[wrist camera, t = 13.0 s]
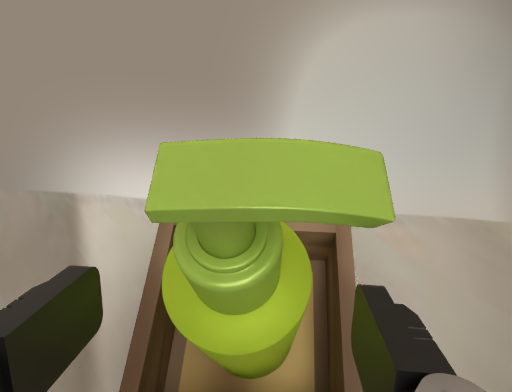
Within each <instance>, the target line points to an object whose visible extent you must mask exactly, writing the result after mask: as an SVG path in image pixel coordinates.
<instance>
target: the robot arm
mask: <svg viewBox="0 0 512 392" xmlns="http://www.w3.org/2000/svg"><path fill="white" fill-rule="evenodd" d="M102 317H103V307H102V296H101V285H100V274H99V271H98V269H97V268H96V267H88V266H69V267H67V268H66V269H64V270H63V271H61V272H60V273H59V274H57V275H56V276H55V277H53V278H52V279H50V280H49V281H47V282H45V283H43V284H40V285H38V286H36V287H33V288H32V289H30V290H29V291H27V292H26V293H24V294H23V295H22V296H20V297H19V298H18V300H14V301H13V302H12V303H10V304H9V305H7V307H6V308H3V309H2V310H0V392H47V391H48V389H49V388H50V387H51V386H52V385H53V384H54V382H55V381H56V380H57V379H58V378H59V377H60V375H61V374H62V373H63V372H64V371H65V369H66V368H67V367H68V366H69V365H70V364H71V362H72V361H73V360H74V359H75V358H76V356H77V355H78V354H79V353H80V352H81V351H82V349H83V348H84V347H85V346H86V345H87V343H88V342H89V341H90V340H91V339H92V338H93V336H94V335H95V334H96V333H97V331H98V330H99V328H100V325H101V322H102ZM351 347H352V353H353V357H354V360H355V364H356V367H357V371H358V375H359V378H360V382H361V385H362V389H363V392H486V391H484V390H483V389H482V388H480V387H479V386H477V385H476V384H474V383H472V382H470V381H468V380H466V379H464V378H461V377H458V376H457V375H456V373H455V372H454V370H453V369H452V367H451V366H450V364H449V363H448V361H447V359H446V358H445V356H444V355H443V353H442V352H441V350H440V349H439V347H438V346H437V344H436V343H435V341H433V338H432V336H431V335H430V333H429V332H428V330H426V327H425V326H424V324H423V323H422V321H421V320H420V318H419V317H418V315H417V314H415V313H414V312H413V311H411V310H410V309H409V308H407V307H406V306H405V305H404V304H394V302H393V300H392V299H391V297H390V295H389V293H388V292H387V290H386V288H385V287H384V286H375V285H360V284H358V285H357V287H356V291H355V300H354V309H353V318H352V328H351Z"/></svg>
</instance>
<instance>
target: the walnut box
mask: <svg viewBox="0 0 512 392" xmlns="http://www.w3.org/2000/svg"><path fill="white" fill-rule="evenodd" d="M284 223H285V224H286V225H288V226H289V227H290V228H291V229H292V230H293V231H294V232H295V233H296V235H297V236H298V237H299V239H300V240H301V242H302V243H303V245H304V247H305V249H306V251H307V254H308V257H309V260H310V264H311V270H312V289H311V294H310V299H309V302H308V305H307V307H306V310H305V313H304V315H303V318H302V320H301V323H300V325H299V328H298V331H297V333H296V336H295V338H294V341H293V343H292V346H291V348H290V351H289V353H288V356H287V357H286V359H285V361H284V362H283V363H282V365H281V366H280V367H279V368H278V369H276V370H275V371H274V372H272V373H271V374H269V375H267V376H264V377H261V378H257V379H245V378H240V377H237V376H235V375H233V374H231V373H229V372H228V371H226V370H225V369H224V368H223V367H221V366H220V365H219V364H218V363H216V362H215V361H214V360H213V359H211V358H210V357H209V356H208V355H206V354H205V353H204V352H203V351H201V350H200V349H199V348H198V347H197V346H195V345H194V344H193V343H192V342H190V341H189V340H188V339H187V338H185V337H184V336H183V335H182V334H181V333H180V332H179V330H178V329H177V328H176V327H175V325H174V324H173V322H172V320H171V319H170V317H169V315H168V313H167V310H166V307H165V304H164V300H163V294H162V275H163V269H164V265H165V262H166V259H167V256H168V254H169V252H170V250H171V248H172V246H173V237H174V232H175V228H176V225H177V223H159V228H158V232H157V236H156V240H155V244H154V249H153V253H152V257H151V261H150V265H149V269H148V274H147V278H146V282H145V286H144V290H143V295H142V299H141V303H140V307H139V311H138V316H137V320H136V324H135V328H134V332H133V336H132V341H131V345H130V349H129V353H128V357H127V362H126V366H125V370H124V374H123V378H122V383H121V387H120V391H119V392H363V389H362V385H361V382H360V378H359V375H358V371H357V367H356V364H355V360H354V357H353V353H352V347H351V328H352V318H353V309H354V300H355V291H356V286H355V274H354V261H353V249H352V236H351V226H346V225H337V224H324V223H305V222H284Z"/></svg>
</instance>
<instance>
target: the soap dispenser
mask: <svg viewBox="0 0 512 392" xmlns="http://www.w3.org/2000/svg"><path fill="white" fill-rule="evenodd" d="M145 212H146V214H147V216H148V217H149V219H150V220H151V222H152V223H177V225H176V228H175V232H174V237H173V246H172V248H171V250H170V252H169V254H168V256H167V259H166V262H165V265H164V269H163V275H162V294H163V300H164V304H165V307H166V310H167V313H168V315H169V317H170V319H171V320H172V322H173V324H174V325H175V327H176V328H177V329H178V330H179V332H180V333H181V334H182V335H183V336H184V337H185V338H187V339H188V340H189V341H190V342H192V343H193V344H194V345H195V346H197V347H198V348H199V349H200V350H201V351H203V352H204V353H205V354H206V355H208V356H209V357H210V358H211V359H213V360H214V361H215V362H216V363H218V364H219V365H220V366H221V367H223V368H224V369H225V370H226V371H228V372H229V373H231V374H233V375H235V376H237V377H240V378H245V379H257V378H261V377H264V376H267V375H269V374H271V373H272V372H274V371H275V370H276V369H278V368H279V367H280V366H281V365H282V363H283V362H284V361H285V359H286V357H287V356H288V353H289V351H290V348H291V346H292V343H293V341H294V338H295V336H296V333H297V331H298V328H299V325H300V323H301V320H302V318H303V315H304V313H305V310H306V307H307V305H308V302H309V299H310V294H311V289H312V270H311V264H310V260H309V257H308V254H307V251H306V249H305V247H304V245H303V243H302V242H301V240H300V239H299V237H298V236H297V235H296V233H295V232H294V231H293V230H292V229H291V228H290V227H289V226H288V225H286V224H285V223H284V222H305V223H324V224H337V225H346V226H355V227H364V228H375V227H378V226H381V225H385V224H388V223H390V222H393V221H394V220H395V213H394V208H393V203H392V198H391V193H390V187H389V182H388V177H387V172H386V167H385V163H384V158H383V156H382V154H381V153H380V152H378V151H374V150H370V149H365V148H360V147H355V146H349V145H343V144H336V143H330V142H322V141H312V140H301V139H281V138H243V139H242V138H241V139H216V140H196V141H181V142H164V143H160V146H159V150H158V154H157V159H156V163H155V167H154V172H153V176H152V181H151V185H150V190H149V194H148V198H147V202H146V207H145Z"/></svg>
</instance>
